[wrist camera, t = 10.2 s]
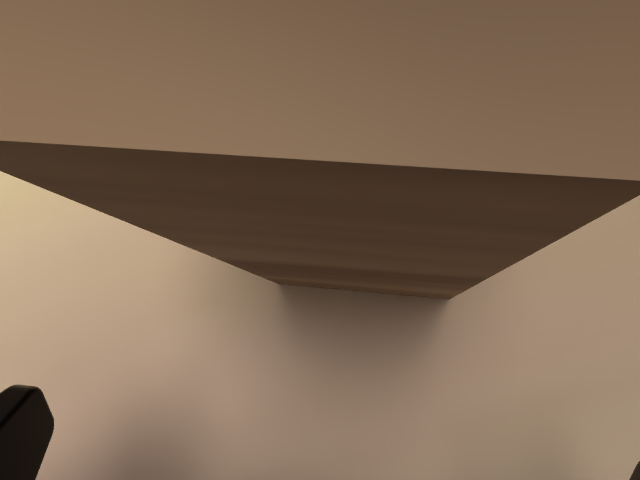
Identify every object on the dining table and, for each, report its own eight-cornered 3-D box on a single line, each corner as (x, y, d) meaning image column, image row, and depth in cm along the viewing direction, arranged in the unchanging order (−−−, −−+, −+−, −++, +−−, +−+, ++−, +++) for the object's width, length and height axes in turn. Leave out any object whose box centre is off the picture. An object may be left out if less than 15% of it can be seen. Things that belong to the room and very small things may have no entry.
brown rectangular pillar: (449, 298, 17) (663, 181, 4) (278, 283, 18) (-89, 135, 4) (461, 130, 18) (679, -504, 4) (295, 121, 19) (25, -456, 5)
